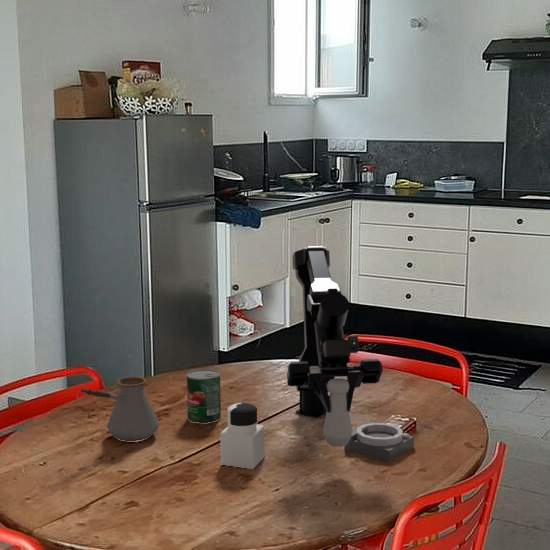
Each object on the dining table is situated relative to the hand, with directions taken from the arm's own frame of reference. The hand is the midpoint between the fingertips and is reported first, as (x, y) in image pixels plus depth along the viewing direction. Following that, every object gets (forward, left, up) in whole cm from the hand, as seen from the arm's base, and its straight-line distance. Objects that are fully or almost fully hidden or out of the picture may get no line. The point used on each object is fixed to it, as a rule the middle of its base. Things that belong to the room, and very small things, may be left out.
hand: (338, 411), depth 167 cm
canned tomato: (-43, +7, -13) cm, 45 cm away
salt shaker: (-1, +1, -7) cm, 7 cm away
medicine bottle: (-19, -7, -13) cm, 24 cm away
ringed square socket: (0, +16, -13) cm, 20 cm away
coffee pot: (-47, -16, -13) cm, 51 cm away
